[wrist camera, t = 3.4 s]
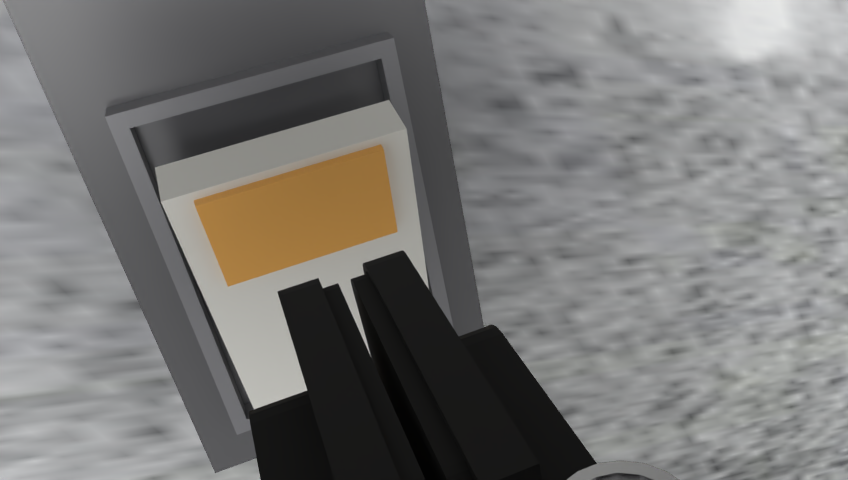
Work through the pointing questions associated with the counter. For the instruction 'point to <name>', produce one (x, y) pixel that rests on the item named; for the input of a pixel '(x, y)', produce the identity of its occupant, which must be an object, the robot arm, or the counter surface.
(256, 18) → the rocker switch base
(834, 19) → the counter surface
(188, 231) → the rocker
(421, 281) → the robot arm
